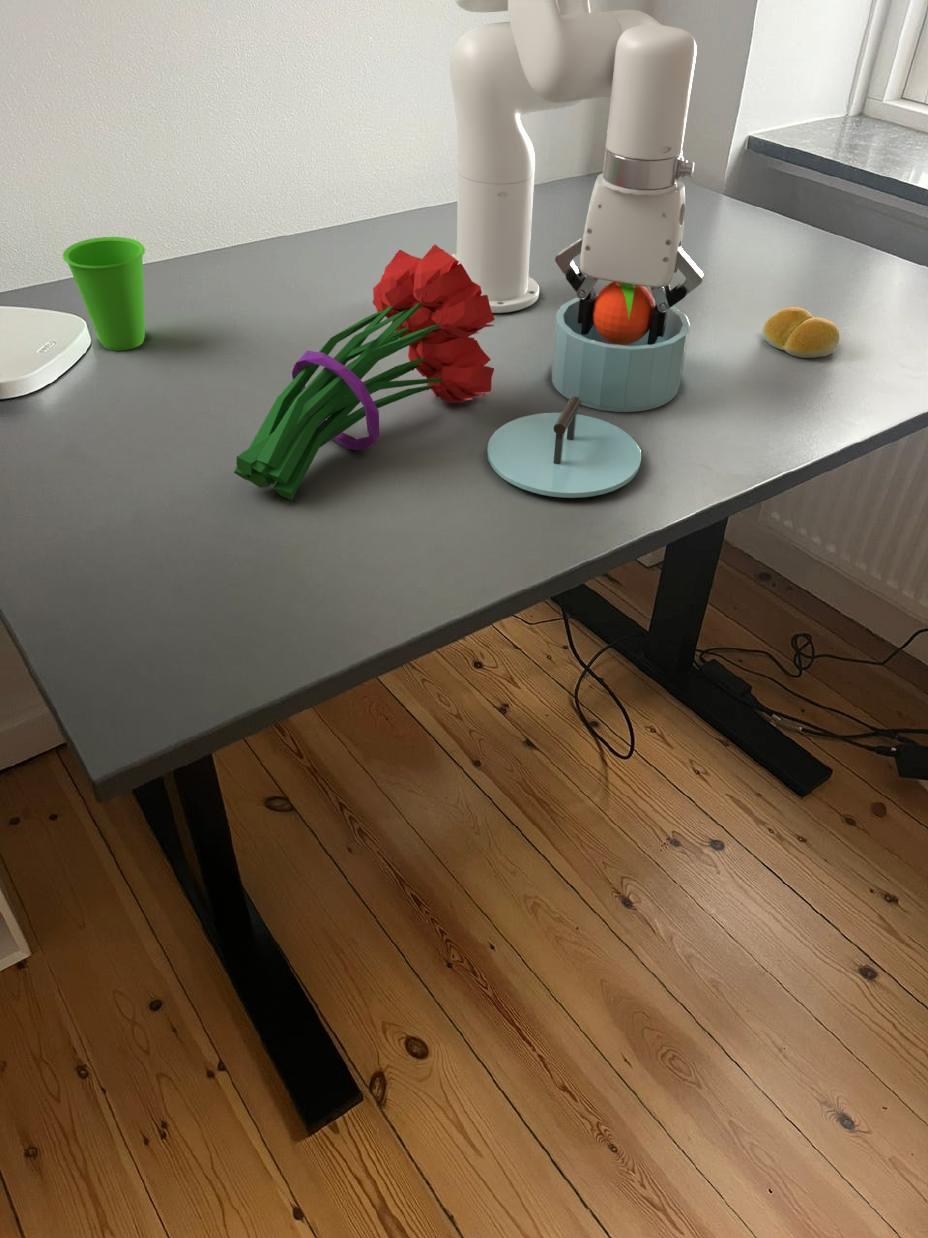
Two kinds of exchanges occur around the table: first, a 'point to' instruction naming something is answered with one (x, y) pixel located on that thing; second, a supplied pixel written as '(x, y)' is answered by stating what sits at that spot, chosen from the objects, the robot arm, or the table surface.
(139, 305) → the cup
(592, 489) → the lid
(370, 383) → the bouquet
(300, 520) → the table surface
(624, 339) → the clementine
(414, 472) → the table surface
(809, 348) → the bread roll
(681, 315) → the pot
